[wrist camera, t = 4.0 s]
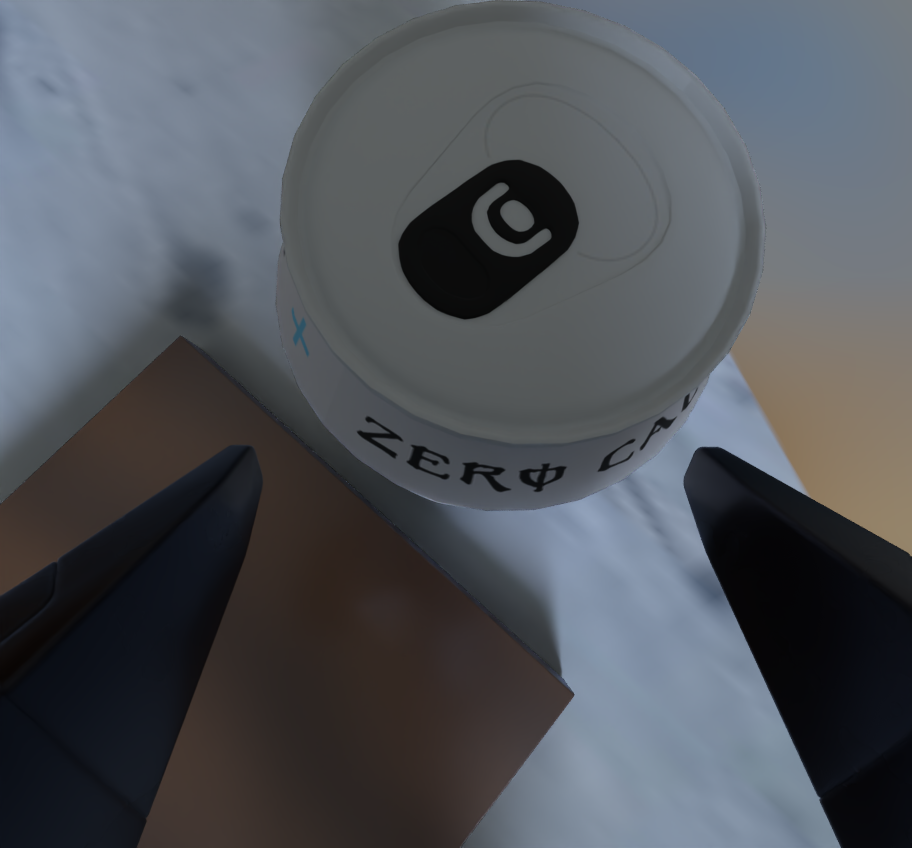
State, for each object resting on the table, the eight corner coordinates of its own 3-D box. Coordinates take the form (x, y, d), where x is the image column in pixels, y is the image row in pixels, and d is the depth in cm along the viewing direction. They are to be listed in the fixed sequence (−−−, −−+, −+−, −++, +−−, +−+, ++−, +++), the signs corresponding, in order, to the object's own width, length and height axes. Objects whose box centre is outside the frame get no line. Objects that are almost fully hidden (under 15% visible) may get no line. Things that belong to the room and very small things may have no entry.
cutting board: (307, 1016, 16) (294, 1070, 14) (-80, 612, 17) (-128, 623, 16) (564, 679, 18) (575, 695, 16) (199, 347, 19) (180, 334, 18)
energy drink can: (557, 441, 19) (946, 246, 5) (447, 536, 19) (498, 668, 4) (464, 336, 20) (549, -133, 5) (354, 423, 19) (85, 156, 4)
